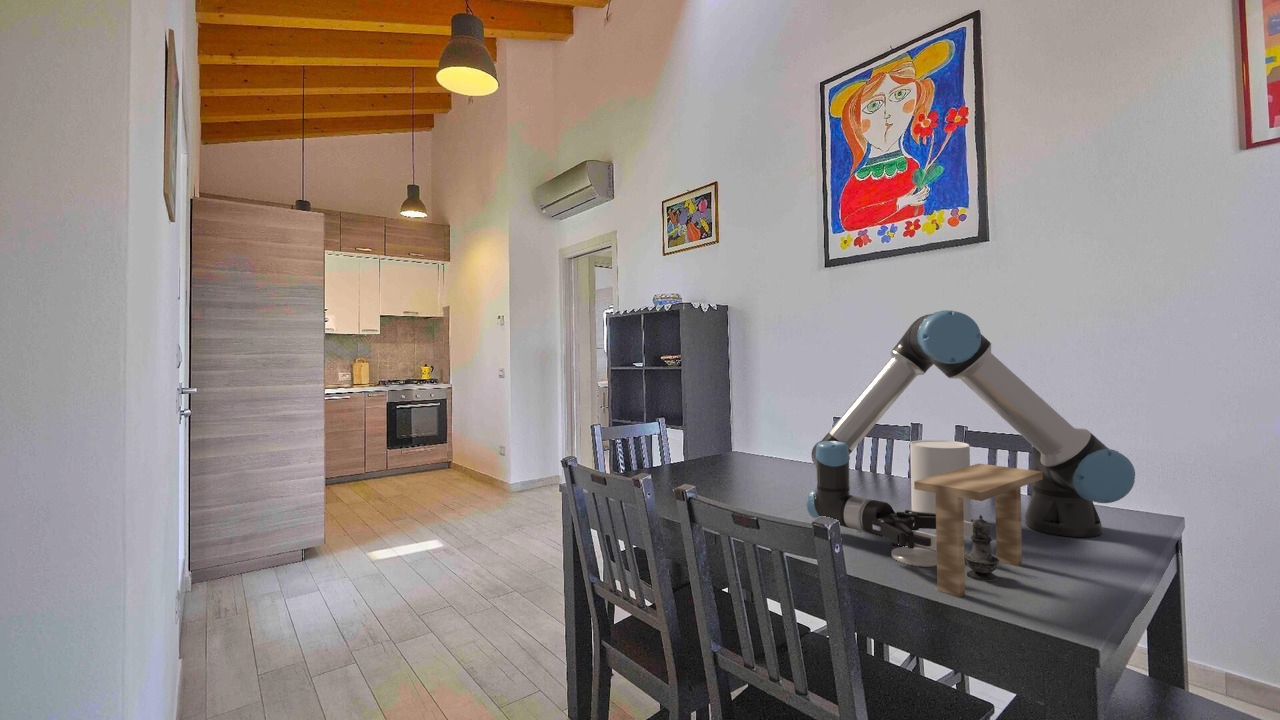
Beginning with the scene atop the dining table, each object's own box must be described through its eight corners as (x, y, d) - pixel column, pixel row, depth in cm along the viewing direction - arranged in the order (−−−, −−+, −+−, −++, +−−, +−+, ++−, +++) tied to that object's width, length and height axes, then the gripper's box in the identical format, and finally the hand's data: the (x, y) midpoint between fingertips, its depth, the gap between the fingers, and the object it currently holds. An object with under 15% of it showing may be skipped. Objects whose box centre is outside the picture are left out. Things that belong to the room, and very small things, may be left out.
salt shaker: (958, 571, 117) (956, 511, 117) (986, 570, 117) (984, 510, 117) (977, 583, 111) (976, 519, 111) (1006, 581, 112) (1005, 518, 111)
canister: (917, 528, 146) (915, 447, 146) (907, 513, 159) (906, 439, 159) (977, 531, 142) (976, 448, 142) (963, 515, 155) (961, 440, 155)
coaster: (931, 550, 129) (931, 546, 129) (952, 566, 119) (952, 563, 119) (884, 550, 130) (884, 546, 130) (901, 566, 120) (901, 563, 120)
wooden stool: (916, 583, 111) (914, 481, 111) (980, 553, 127) (978, 463, 127) (983, 604, 102) (981, 492, 102) (1044, 569, 117) (1042, 471, 117)
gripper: (900, 522, 140) (996, 544, 123) (836, 544, 126) (934, 572, 109) (900, 491, 140) (995, 508, 123) (835, 509, 126) (933, 532, 109)
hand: (967, 538), depth 116 cm, fingers open, 13 cm apart
